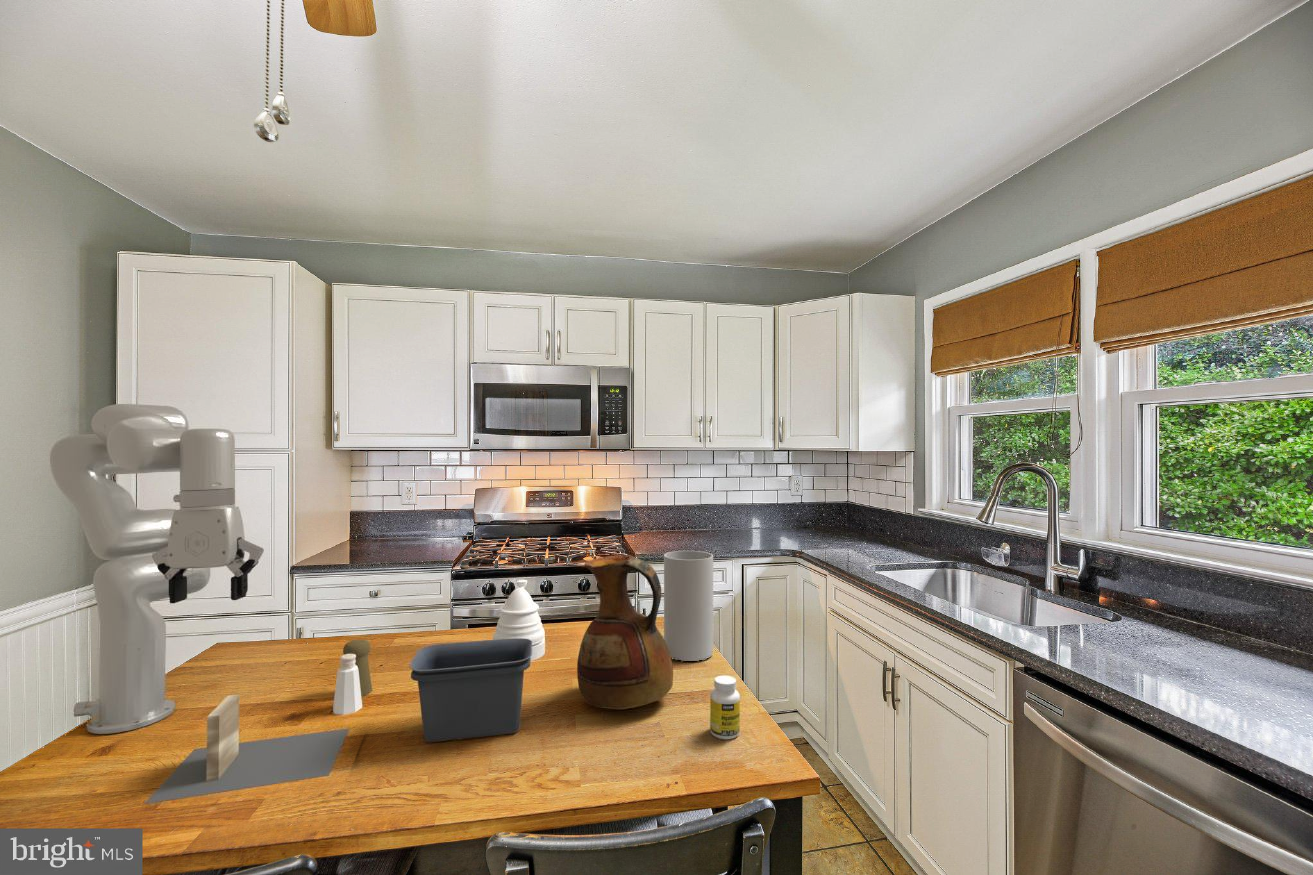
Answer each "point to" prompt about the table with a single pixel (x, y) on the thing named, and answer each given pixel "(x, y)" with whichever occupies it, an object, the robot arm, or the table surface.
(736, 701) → the supplement bottle
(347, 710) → the salt shaker
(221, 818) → the table surface
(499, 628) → the honey pot
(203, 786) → the rubber mat
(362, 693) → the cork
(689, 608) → the cylinder vase
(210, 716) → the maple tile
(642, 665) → the ceramic pitcher
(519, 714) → the storage bin
